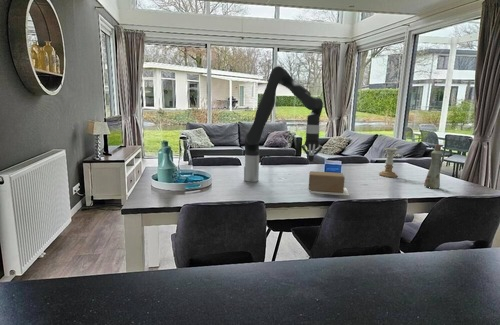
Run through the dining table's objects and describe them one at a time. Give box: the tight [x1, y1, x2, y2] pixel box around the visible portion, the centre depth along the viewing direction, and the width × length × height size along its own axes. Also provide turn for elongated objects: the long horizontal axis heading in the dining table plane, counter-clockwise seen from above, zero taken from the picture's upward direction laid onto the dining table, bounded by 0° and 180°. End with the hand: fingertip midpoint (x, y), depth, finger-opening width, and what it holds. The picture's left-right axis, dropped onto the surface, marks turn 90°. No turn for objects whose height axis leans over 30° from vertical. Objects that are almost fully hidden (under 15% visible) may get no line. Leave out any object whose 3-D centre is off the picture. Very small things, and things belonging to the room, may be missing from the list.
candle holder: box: [378, 147, 400, 178], centre depth 235 cm, size 12×12×20 cm
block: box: [308, 170, 345, 193], centre depth 193 cm, size 10×10×20 cm
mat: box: [309, 187, 350, 196], centre depth 194 cm, size 22×16×1 cm
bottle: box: [423, 143, 443, 189], centre depth 204 cm, size 9×9×28 cm
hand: (310, 161), depth 193 cm, fingers closed
